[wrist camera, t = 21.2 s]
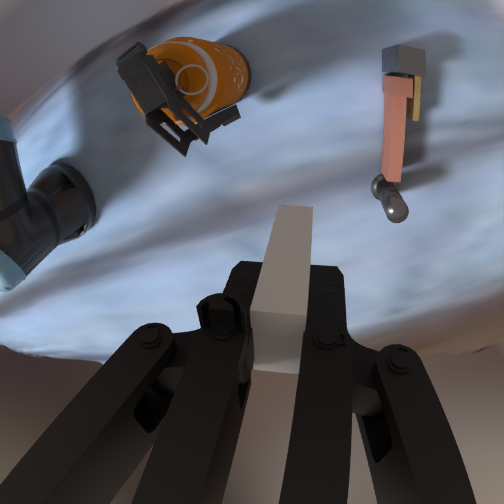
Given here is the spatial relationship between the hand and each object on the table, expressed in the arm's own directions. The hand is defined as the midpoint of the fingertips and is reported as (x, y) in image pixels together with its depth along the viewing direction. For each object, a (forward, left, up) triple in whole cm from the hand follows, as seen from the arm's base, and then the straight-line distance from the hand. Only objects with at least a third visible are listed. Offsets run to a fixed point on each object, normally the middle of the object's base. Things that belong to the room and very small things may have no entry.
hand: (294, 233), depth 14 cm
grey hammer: (+11, +7, -28) cm, 31 cm away
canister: (-11, +6, -29) cm, 31 cm away
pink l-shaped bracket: (+11, +1, -28) cm, 30 cm away
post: (+11, -8, -28) cm, 31 cm away
